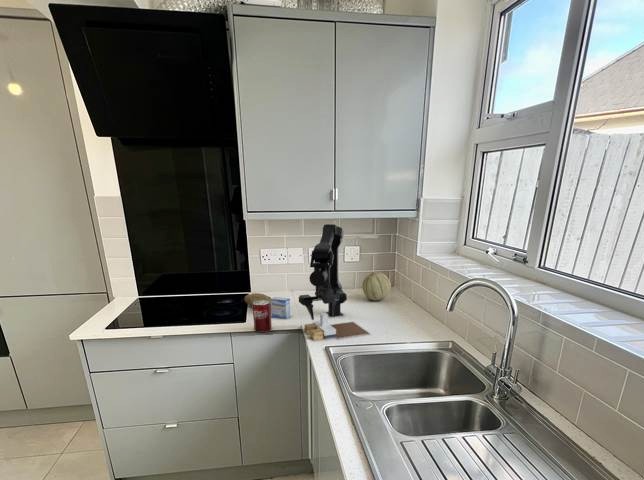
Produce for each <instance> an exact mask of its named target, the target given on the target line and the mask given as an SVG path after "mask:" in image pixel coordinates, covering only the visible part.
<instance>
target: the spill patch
mask: <svg viewBox="0 0 644 480" xmlns="http://www.w3.org/2000/svg"><path fill="white" fill-rule="evenodd" d="M330 325H331V326H332V327H333V328H335V329H336V337H335V338H337V339H342V338H348V337H355V336H361V335H369V334H370V333H369V332H368V331H366V330H365V329H363V328H362V327H361V326H359V325H358V324H356V323H355V322H353V321H349V322H341V323H336V324H330Z"/></svg>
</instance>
